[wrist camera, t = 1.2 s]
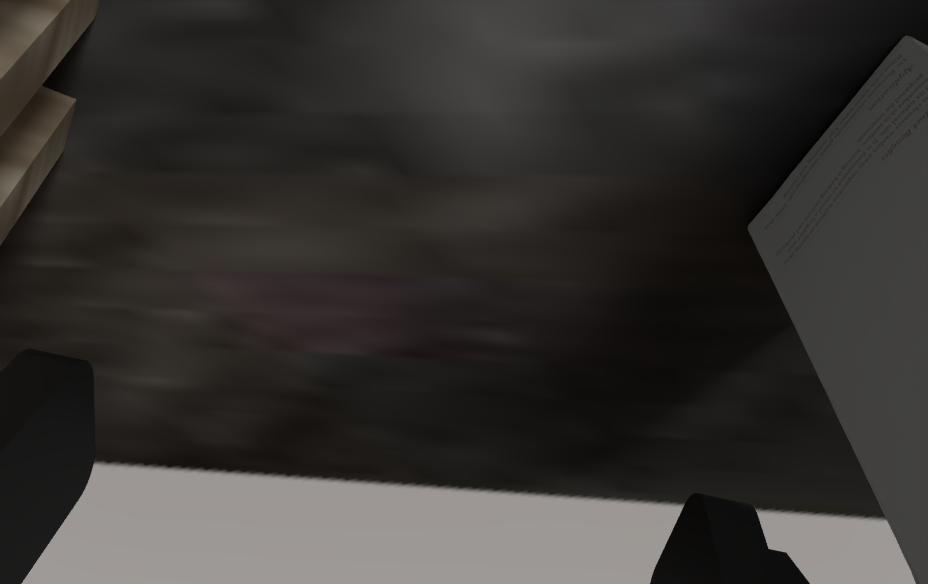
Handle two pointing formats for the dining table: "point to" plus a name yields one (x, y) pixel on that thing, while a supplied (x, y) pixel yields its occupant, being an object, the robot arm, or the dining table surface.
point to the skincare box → (867, 281)
